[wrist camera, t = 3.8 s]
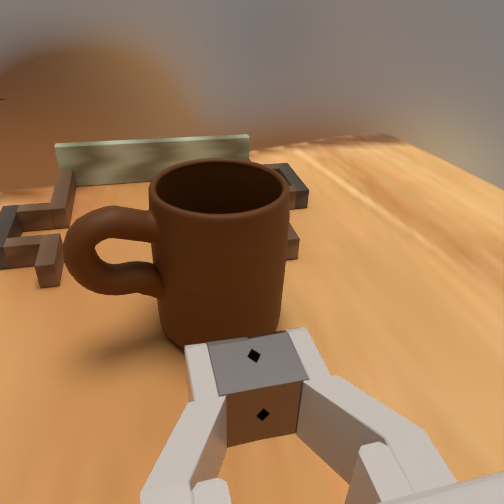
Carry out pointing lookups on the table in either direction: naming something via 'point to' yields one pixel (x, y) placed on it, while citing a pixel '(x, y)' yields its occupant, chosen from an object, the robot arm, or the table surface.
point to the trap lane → (113, 172)
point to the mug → (197, 249)
